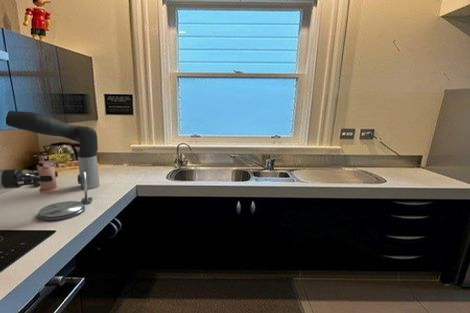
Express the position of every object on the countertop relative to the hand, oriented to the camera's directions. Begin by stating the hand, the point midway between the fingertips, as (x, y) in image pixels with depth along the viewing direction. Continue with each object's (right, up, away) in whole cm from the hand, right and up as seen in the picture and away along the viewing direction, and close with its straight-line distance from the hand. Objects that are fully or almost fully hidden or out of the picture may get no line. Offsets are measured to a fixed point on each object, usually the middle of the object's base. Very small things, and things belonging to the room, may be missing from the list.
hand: (54, 176), depth 112 cm
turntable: (-1, -15, +6) cm, 16 cm away
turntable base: (-1, -16, +6) cm, 17 cm away
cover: (-2, -6, +1) cm, 7 cm away
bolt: (-38, -8, +47) cm, 61 cm away
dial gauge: (+3, -14, +18) cm, 23 cm away
